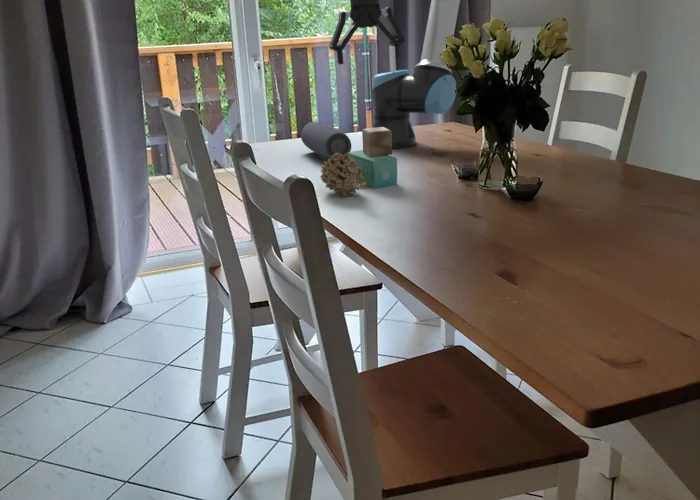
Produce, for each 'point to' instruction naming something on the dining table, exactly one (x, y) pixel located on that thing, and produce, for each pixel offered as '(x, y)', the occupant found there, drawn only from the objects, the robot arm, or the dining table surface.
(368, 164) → the box
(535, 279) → the dining table surface
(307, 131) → the bluetooth speaker
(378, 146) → the walnut cube
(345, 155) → the pine cone
